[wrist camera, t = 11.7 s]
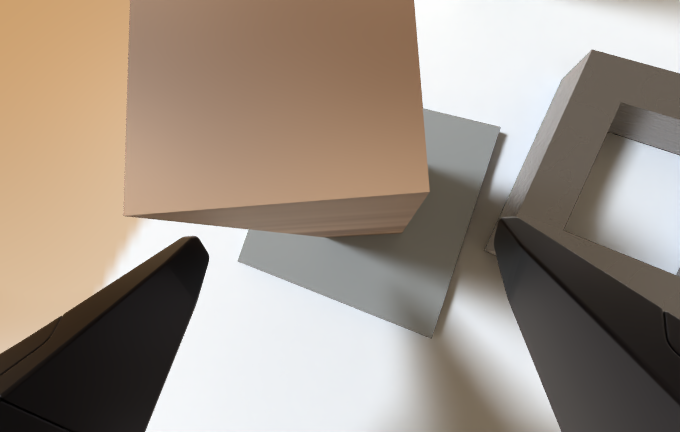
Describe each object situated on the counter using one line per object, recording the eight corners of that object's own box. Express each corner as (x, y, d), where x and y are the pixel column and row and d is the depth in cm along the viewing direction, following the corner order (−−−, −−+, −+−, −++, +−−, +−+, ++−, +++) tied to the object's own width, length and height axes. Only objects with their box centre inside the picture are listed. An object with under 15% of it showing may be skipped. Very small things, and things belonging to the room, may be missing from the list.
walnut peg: (401, 233, 16) (429, 192, 4) (324, 237, 17) (123, 216, 4) (396, 156, 17) (403, -121, 4) (321, 164, 18) (132, -49, 5)
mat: (430, 335, 16) (431, 338, 16) (242, 260, 18) (237, 261, 18) (496, 131, 16) (500, 127, 16) (304, 84, 19) (301, 79, 18)
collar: (701, 344, 14) (766, 366, 11) (484, 250, 16) (500, 251, 14) (788, 146, 14) (872, 126, 12) (562, 79, 16) (591, 49, 14)
